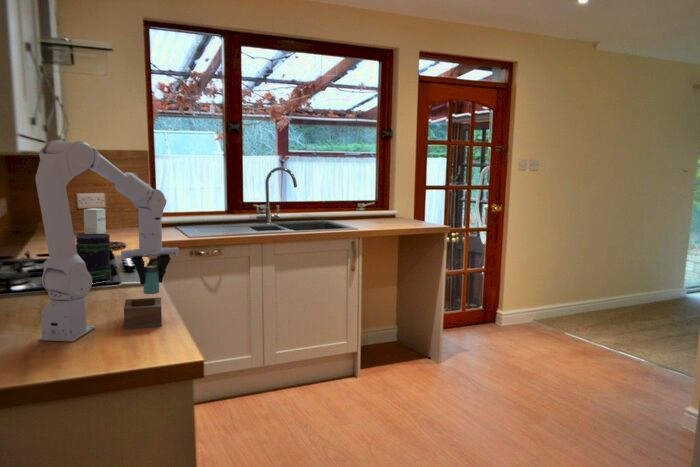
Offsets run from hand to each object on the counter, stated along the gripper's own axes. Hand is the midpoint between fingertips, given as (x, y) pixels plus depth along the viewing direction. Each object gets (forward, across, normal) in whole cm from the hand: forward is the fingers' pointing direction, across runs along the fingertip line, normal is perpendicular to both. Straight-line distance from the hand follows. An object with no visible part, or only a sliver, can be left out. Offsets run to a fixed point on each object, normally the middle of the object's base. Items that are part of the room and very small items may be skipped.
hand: (151, 282), depth 138 cm
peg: (+3, 0, 0) cm, 3 cm away
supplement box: (+7, +4, +144) cm, 145 cm away
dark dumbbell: (+7, +10, +38) cm, 40 cm away
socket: (+7, -4, -12) cm, 14 cm away
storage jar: (+7, -9, +39) cm, 40 cm away
